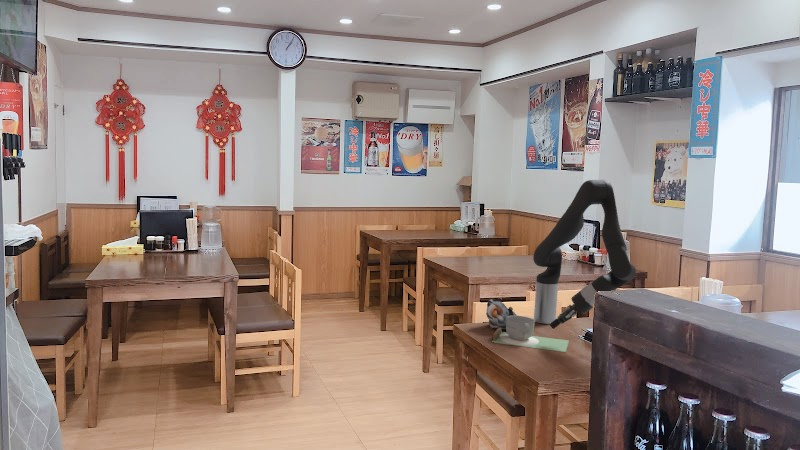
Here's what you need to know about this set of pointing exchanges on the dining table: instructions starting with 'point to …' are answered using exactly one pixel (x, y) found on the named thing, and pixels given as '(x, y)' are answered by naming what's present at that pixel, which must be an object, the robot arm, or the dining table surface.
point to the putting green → (531, 342)
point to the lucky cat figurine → (498, 314)
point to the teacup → (519, 327)
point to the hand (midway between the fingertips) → (551, 326)
